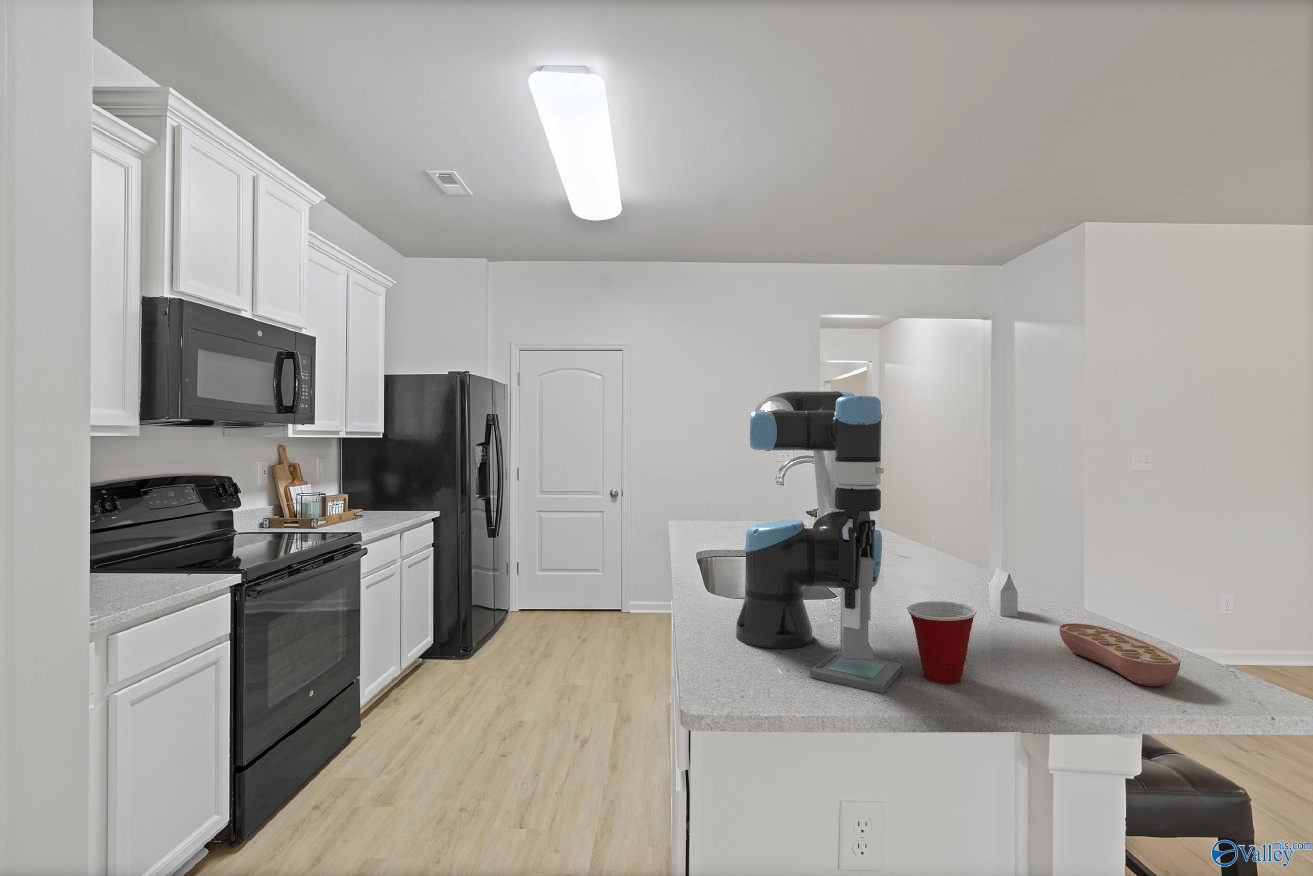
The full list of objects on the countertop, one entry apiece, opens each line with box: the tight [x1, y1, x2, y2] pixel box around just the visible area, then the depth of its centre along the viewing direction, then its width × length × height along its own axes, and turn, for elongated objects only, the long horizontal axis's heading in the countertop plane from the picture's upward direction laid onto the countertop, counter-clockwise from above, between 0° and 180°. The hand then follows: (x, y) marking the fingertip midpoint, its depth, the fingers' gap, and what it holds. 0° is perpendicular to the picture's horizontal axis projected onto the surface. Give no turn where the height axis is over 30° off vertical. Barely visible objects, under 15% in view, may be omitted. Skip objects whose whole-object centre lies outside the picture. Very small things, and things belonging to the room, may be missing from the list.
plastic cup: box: [906, 600, 978, 685], centre depth 109 cm, size 11×11×12 cm
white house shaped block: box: [988, 567, 1019, 618], centre depth 150 cm, size 4×7×10 cm, turn 173°
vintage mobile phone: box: [839, 557, 875, 660], centre depth 111 cm, size 4×5×25 cm
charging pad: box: [809, 651, 903, 694], centre depth 111 cm, size 12×12×1 cm
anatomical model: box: [1058, 622, 1181, 687], centre depth 114 cm, size 23×10×5 cm, turn 1°
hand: (856, 622), depth 111 cm, fingers closed on vintage mobile phone, 5 cm apart
